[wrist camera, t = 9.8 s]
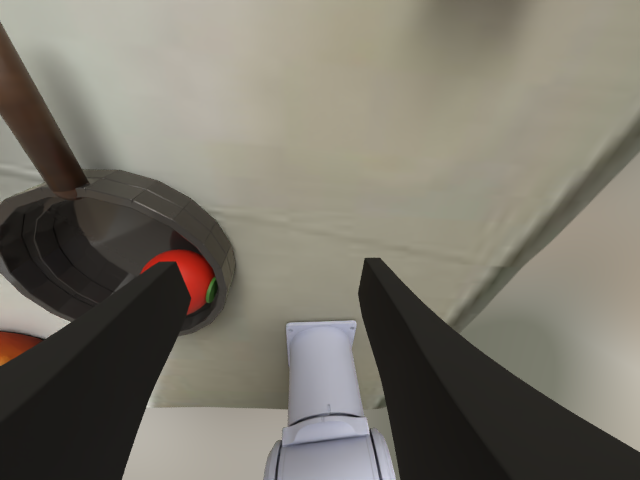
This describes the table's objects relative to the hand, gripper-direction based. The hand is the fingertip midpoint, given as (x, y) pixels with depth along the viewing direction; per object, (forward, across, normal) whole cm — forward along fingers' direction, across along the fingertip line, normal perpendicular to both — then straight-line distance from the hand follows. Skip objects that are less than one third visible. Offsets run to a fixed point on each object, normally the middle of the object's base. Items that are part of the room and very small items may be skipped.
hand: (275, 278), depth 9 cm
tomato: (+7, +11, +6) cm, 14 cm away
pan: (+9, +12, +6) cm, 16 cm away
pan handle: (+7, +12, -5) cm, 15 cm away
